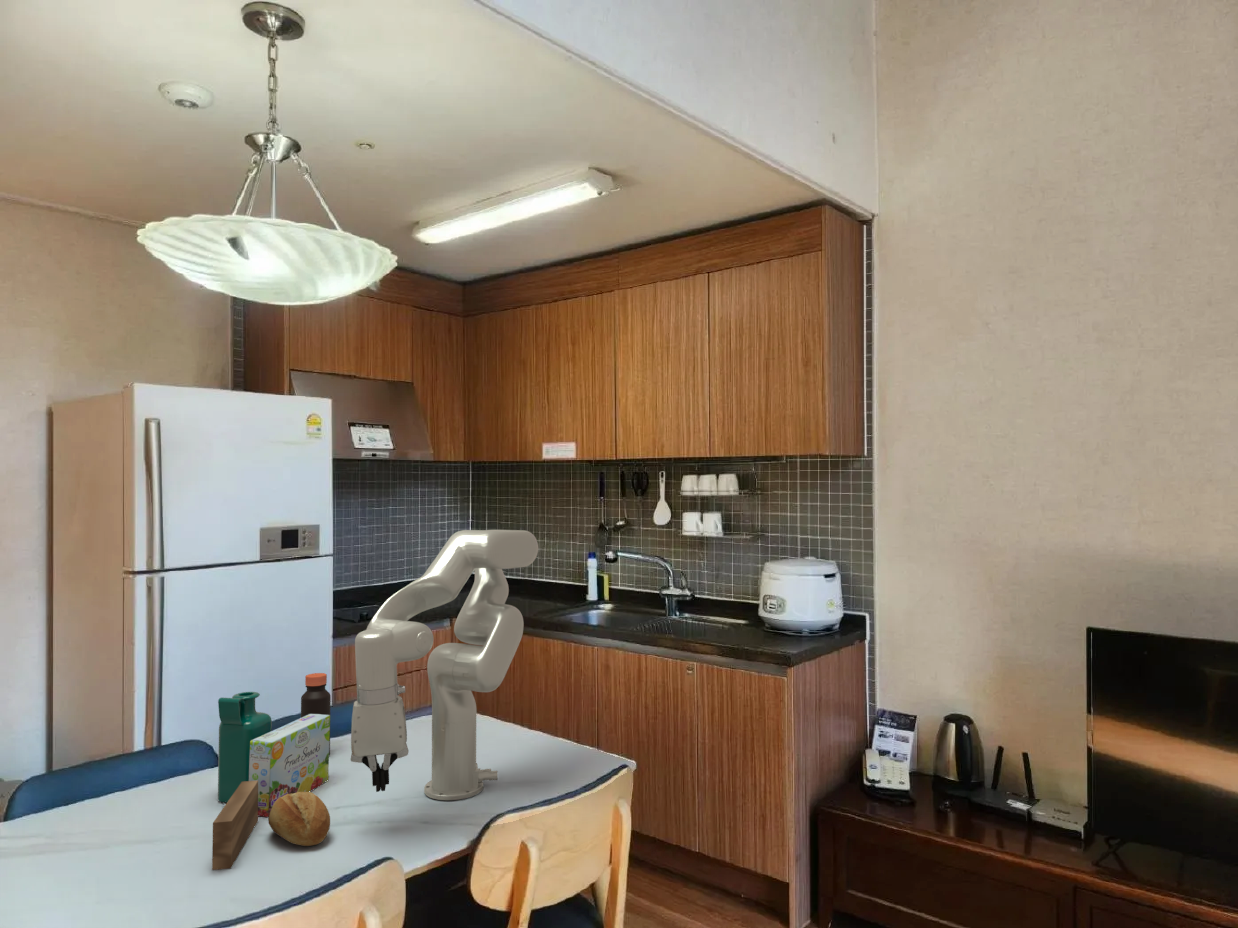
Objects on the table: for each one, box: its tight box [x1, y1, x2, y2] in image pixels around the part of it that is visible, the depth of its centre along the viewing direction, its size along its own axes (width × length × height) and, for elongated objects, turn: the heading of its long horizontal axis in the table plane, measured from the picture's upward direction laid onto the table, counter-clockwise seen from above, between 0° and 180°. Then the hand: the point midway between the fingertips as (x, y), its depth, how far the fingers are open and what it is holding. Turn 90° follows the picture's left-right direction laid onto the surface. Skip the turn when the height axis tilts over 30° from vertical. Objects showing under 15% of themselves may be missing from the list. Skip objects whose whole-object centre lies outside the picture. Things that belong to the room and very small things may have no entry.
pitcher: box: [217, 691, 273, 803], centre depth 168 cm, size 10×8×22 cm
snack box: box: [249, 714, 331, 818], centre depth 168 cm, size 21×6×15 cm, turn 168°
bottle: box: [300, 672, 332, 756], centre depth 194 cm, size 7×7×20 cm
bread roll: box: [267, 791, 331, 847], centre depth 148 cm, size 10×15×8 cm, turn 47°
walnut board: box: [211, 780, 259, 871], centre depth 145 cm, size 3×20×8 cm, turn 13°
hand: (381, 788), depth 152 cm, fingers closed
